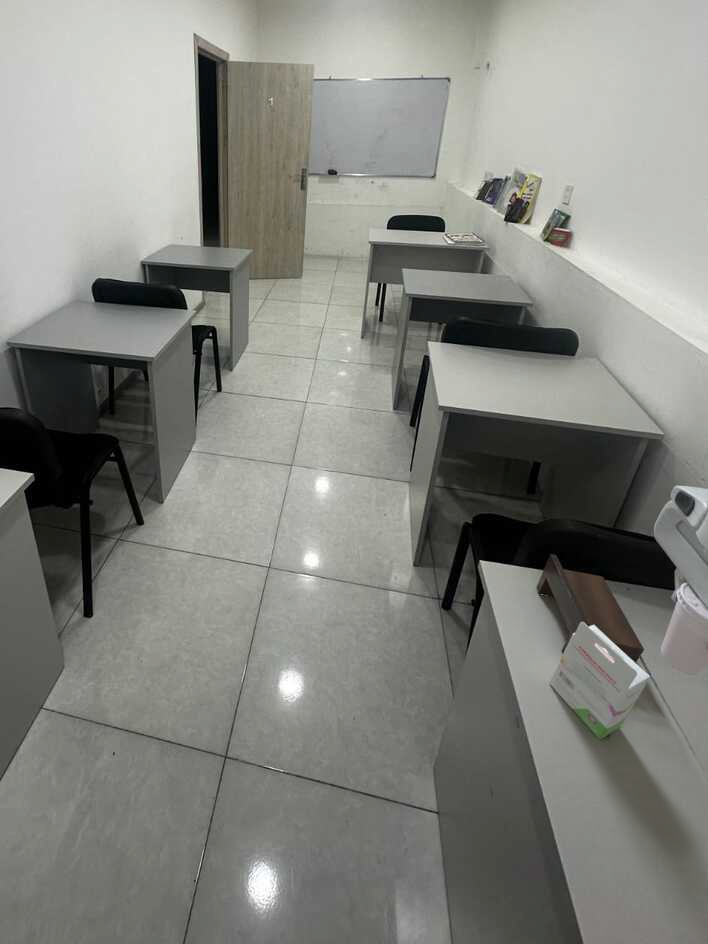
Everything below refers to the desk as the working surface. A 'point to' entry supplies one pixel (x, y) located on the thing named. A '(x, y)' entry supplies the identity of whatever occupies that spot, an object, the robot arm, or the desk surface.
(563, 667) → the ink box
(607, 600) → the shelf
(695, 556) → the robot arm
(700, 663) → the smoothie
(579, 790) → the desk surface
